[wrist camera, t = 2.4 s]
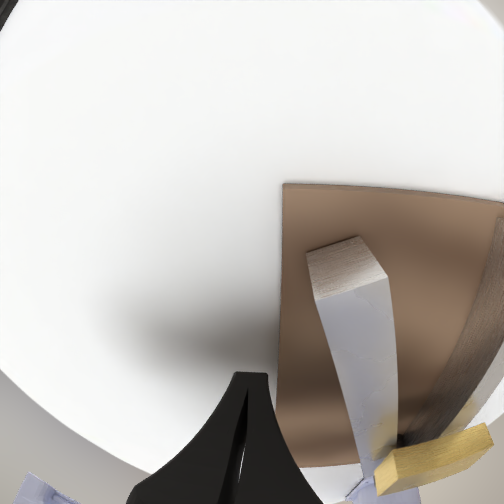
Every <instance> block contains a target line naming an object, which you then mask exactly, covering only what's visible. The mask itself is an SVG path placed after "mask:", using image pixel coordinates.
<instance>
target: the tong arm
mask: <svg viewBox="0 0 504 504" xmlns="http://www.w3.org/2000/svg"><path fill="white" fill-rule="evenodd" d="M306 257H307V262H308V267H309V273H310V278H311V283H312V288H313V294H314V299H315V303H316V306H317V309H318V312H319V315H320V319H321V322H322V325H323V328H324V331H325V335H326V338H327V341H328V344H329V348H330V351H331V354H332V358H333V361H334V365H335V368H336V371H337V375H338V378H339V382H340V385H341V389H342V393H343V396H344V400H345V403H346V407H347V411H348V415H349V418H350V422H351V426H352V430H353V434H354V438H355V442H356V446H357V450H358V454H359V458H360V462H361V467H362V471H363V475H364V478H367V477H371V476H375V475H374V471H375V470H376V468H377V467H378V466H379V465H380V464H381V463H382V462H383V460H384V459H385V458H386V457H387V456H388V454H389V453H390V452H391V451H392V450H394V449H396V444H397V425H398V374H397V353H396V339H395V328H394V318H393V309H392V301H391V293H390V286H389V279H388V276H387V275H386V273H385V272H384V270H383V269H382V267H381V266H380V264H379V263H378V261H377V260H376V258H375V257H374V255H373V254H372V253H371V251H370V250H369V248H368V247H367V246H366V244H365V243H364V241H363V240H362V239H361V237H360V236H358V237H355V238H351V239H348V240H345V241H342V242H339V243H336V244H333V245H330V246H327V247H324V248H321V249H318V250H315V251H311V252H308V253H306Z"/></svg>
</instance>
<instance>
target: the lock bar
mask: <svg viewBox="0 0 504 504" xmlns="http://www.w3.org/2000/svg"><path fill="white" fill-rule="evenodd" d="M493 445H494V443H493V441H492V438H491V436H490V434H489V431H488V429H487V427H486V424H485V422H484V423H482V424H479V425H477V426H474V427H471V428H469V429H466V430H463V431H460V432H457V433H454V434H451V435H448V436H445V437H442V438H439V439H435V440H432V441H428V442H424V443H420V444H416V445H412V446H408V447H403V448H399V449H394V450H392V451H391V452H390V453H389V454H388V456H387V457H386V458H385V459H384V460H383V462H382V463H381V464H380V465H379V466H378V467H377V468H376V470H375V471H374V475H375V482H376V489H377V497H379V496H383V495H388V494H392V493H397V492H401V491H404V490H408V489H412V488H415V487H418V486H422V485H425V484H428V483H431V482H434V481H437V480H440V479H443V478H445V477H448V476H451V475H454V474H456V473H459V472H461V471H463V470H466V469H468V468H469V467H470V466H471V465H473V464H474V463H475V462H476V461H477V460H478V459H480V458H481V457H482V456H483V455H484V454H485V453H486V452H487V451H488V450H489V449H490V448H491V447H492V446H493Z"/></svg>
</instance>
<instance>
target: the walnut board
mask: <svg viewBox="0 0 504 504" xmlns="http://www.w3.org/2000/svg"><path fill="white" fill-rule="evenodd" d="M497 217H499V218H504V203H501V202H495V201H489V200H483V199H477V198H470V197H463V196H456V195H448V194H440V193H431V192H422V191H412V190H402V189H390V188H377V187H362V186H343V185H319V184H283V220H282V278H281V311H280V337H279V359H278V378H277V396H276V411H275V416H276V419H277V422H278V425H279V427H280V430H281V433H282V435H283V438H284V440H285V442H286V444H287V447H288V449H289V451H290V453H291V455H292V457H293V459H294V461H295V462H296V464H297V466H298V467H299V468H305V467H325V466H337V465H347V464H355V463H361V462H360V458H359V454H358V450H357V446H356V442H355V438H354V434H353V430H352V426H351V422H350V418H349V415H348V411H347V407H346V403H345V400H344V396H343V393H342V389H341V385H340V382H339V378H338V375H337V371H336V368H335V365H334V361H333V358H332V354H331V351H330V348H329V344H328V341H327V338H326V335H325V331H324V328H323V325H322V322H321V319H320V315H319V312H318V309H317V306H316V303H315V299H314V294H313V288H312V283H311V278H310V273H309V267H308V262H307V257H306V253H308V252H311V251H315V250H318V249H321V248H324V247H327V246H330V245H333V244H336V243H339V242H342V241H345V240H348V239H351V238H355V237H358V236H360V237H361V239H362V240H363V241H364V243H365V244H366V246H367V247H368V248H369V250H370V251H371V253H372V254H373V255H374V257H375V258H376V260H377V261H378V263H379V264H380V266H381V267H382V269H383V270H384V272H385V273H386V275H387V276H388V279H389V286H390V293H391V301H392V309H393V318H394V328H395V339H396V353H397V374H398V425H397V434H402V435H403V434H404V432H405V431H406V429H407V428H408V427H409V425H410V424H411V422H412V421H413V419H414V418H415V416H416V415H417V413H418V412H419V410H420V409H421V407H422V406H423V404H424V403H425V401H426V399H427V398H428V396H429V394H430V393H431V391H432V389H433V388H434V386H435V384H436V382H437V381H438V379H439V377H440V375H441V373H442V372H443V370H444V368H445V366H446V364H447V362H448V360H449V358H450V356H451V354H452V352H453V350H454V348H455V346H456V343H457V341H458V339H459V337H460V335H461V332H462V330H463V328H464V325H465V323H466V321H467V318H468V316H469V313H470V310H471V308H472V305H473V302H474V300H475V297H476V294H477V291H478V288H479V285H480V282H481V279H482V276H483V272H484V269H485V265H486V262H487V258H488V254H489V251H490V247H491V242H492V238H493V234H494V229H495V224H496V219H497Z"/></svg>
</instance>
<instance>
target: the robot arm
mask: <svg viewBox="0 0 504 504" xmlns="http://www.w3.org/2000/svg"><path fill="white" fill-rule="evenodd" d="M245 443H246V444H245ZM244 448H245V450H244ZM243 452H244V456H243ZM242 457H243V462H242V468H241V473H240V467H241V461H242ZM239 474H240V478H239ZM345 501H353V504H421V500H420V495H419V490H418V487H415V488H412V489H408V490H404V491H401V492H397V493H392V494H388V495H383V496H379V497H377V489H376V487H375V486H374V479H373V476H372V477H367V478H365V479H364V480H363V481H362V482H361V483H360V484H359V485H358V486H357V487H356V488H355V489H354V490H353V491H352V492H351V493H350V494H349V495H348V496H347V497H346V498H345ZM13 504H81V503H79V502H77V501H75V500H73V499H71V498H70V497H68V496H66V495H64V494H62V493H61V492H59V491H57V490H55V488H53V487H52V486H50V485H49V484H48V483H46V482H44V481H43V480H41V479H40V478H38V477H37V476H35V475H33V474H32V473H31V472H28V473H27V475H26V477H25V479H24V481H23V483H22V485H21V487H20V489H19V491H18V493H17V495H16V497H15V499H14V502H13ZM126 504H323V502H322V501H321V500H320V499H319V497H318V496H317V495H316V493H315V492H314V491H313V489H312V488H311V486H310V485H309V484H308V482H307V481H306V479H305V477H304V476H303V474H302V472H301V471H300V469H299V467H298V466H297V464H296V462H295V461H294V459H293V457H292V455H291V453H290V451H289V449H288V447H287V444H286V442H285V440H284V438H283V435H282V433H281V430H280V427H279V425H278V422H277V419H276V416H275V412H274V409H273V405H272V401H271V397H270V392H269V384H268V374H267V373H256V372H235V373H234V375H233V377H232V380H231V382H230V384H229V386H228V388H227V390H226V392H225V394H224V395H223V397H222V399H221V401H220V402H219V404H218V405H217V407H216V409H215V410H214V412H213V413H212V415H211V416H210V417H209V419H208V420H207V422H206V423H205V424H204V426H203V427H202V428H201V429H200V431H199V432H198V433H197V434H196V435H195V437H194V438H193V439H192V440H191V441H190V442H189V443H188V444H187V445H186V446H185V447H184V448H183V449H182V450H181V451H180V452H179V453H178V454H177V455H176V456H175V457H174V458H173V459H172V460H170V461H169V462H168V463H167V464H165V465H164V466H163V467H162V468H160V469H159V470H158V471H157V472H155V473H154V474H152V475H151V476H149V477H148V478H146V479H145V480H143V481H142V482H140V483H138V484H137V485H135V487H134V488H133V490H132V492H131V493H130V495H129V497H128V499H127V502H126Z"/></svg>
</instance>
